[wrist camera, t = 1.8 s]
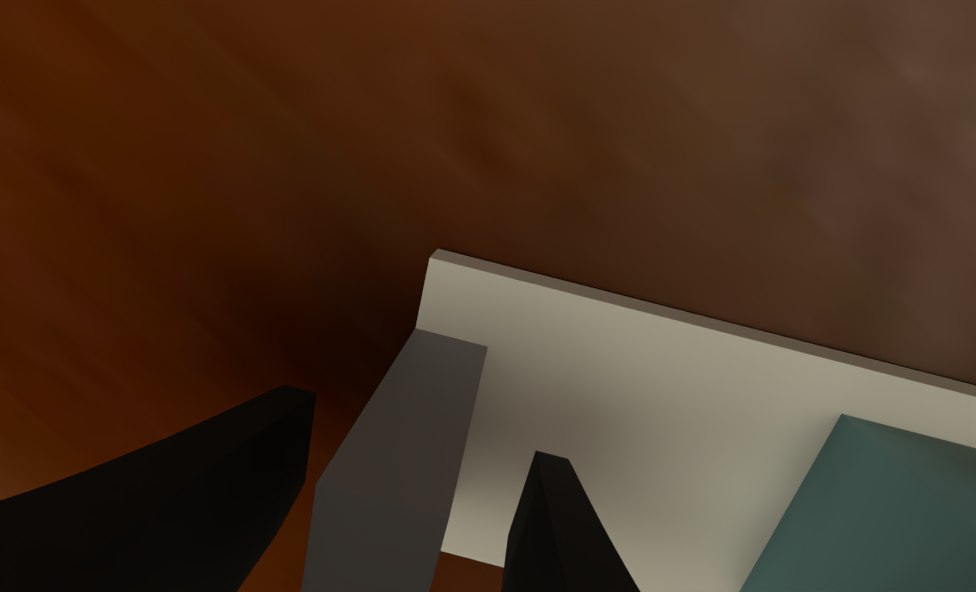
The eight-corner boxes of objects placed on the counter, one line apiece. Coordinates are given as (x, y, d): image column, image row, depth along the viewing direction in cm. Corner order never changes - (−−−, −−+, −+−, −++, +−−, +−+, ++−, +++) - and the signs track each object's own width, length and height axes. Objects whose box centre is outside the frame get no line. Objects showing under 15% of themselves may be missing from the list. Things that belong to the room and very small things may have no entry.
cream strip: (1106, 418, 9) (1757, 733, 4) (921, 649, 12) (1212, 1029, 7) (438, 248, 10) (333, 364, 5) (384, 508, 12) (275, 775, 7)
